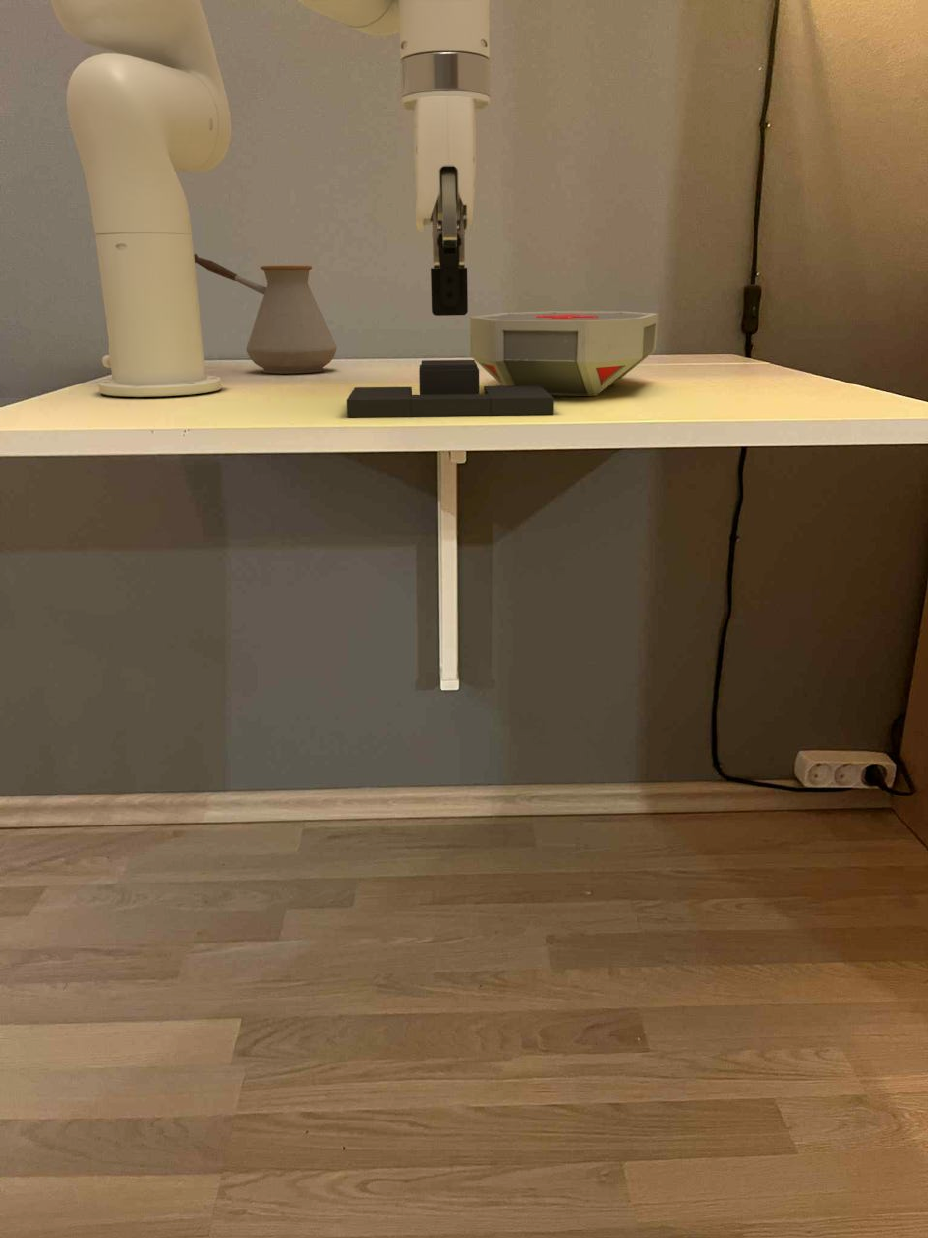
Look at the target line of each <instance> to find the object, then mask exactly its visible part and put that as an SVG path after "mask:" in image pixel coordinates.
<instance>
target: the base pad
mask: <svg viewBox="0 0 928 1238" xmlns="http://www.w3.org/2000/svg"><path fill="white" fill-rule="evenodd" d="M483 389H484V390H483V393H479V394H435V395H420V394H413V386H355V387H353V390H352V391H351V393H350V394H349V395H348V397H347V398H346V417H347V418H394V417H395V418H396V417H397V418H399V417H468V416H469V417H471V416H472V417H477V416H479V417H480V416H483V417H484V416H485V417H486V416H541V415H542V416H545V415H546V416H549V415H550V416H551V415H552V416H553V415H554V407H555V406H554V403H555V398H554V397H555V396H553V395H550V394H549V393H548V392H547V391H546V390H545V389H544V388H543V387H542V386H541V385H509V386H502V385H484V388H483Z"/></svg>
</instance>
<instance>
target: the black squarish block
mask: <svg viewBox="0 0 928 1238" xmlns="http://www.w3.org/2000/svg"><path fill="white" fill-rule="evenodd" d="M418 371H419V373H418V375H419V395H435V394H480V368H479V366H478V363H477V361H476V360H475V359H433V360H432V359H429V360H428V359H425V360H421V364H420V365H419V370H418Z"/></svg>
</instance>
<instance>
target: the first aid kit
mask: <svg viewBox="0 0 928 1238" xmlns="http://www.w3.org/2000/svg"><path fill="white" fill-rule="evenodd" d="M469 324H470V325H469V344H470V345H469V349H470V351H469V353H470V354H469V355H470V357H471V358H472V360H475V362H476V363H477V364H479V365H480V367H482V368H483V369H484V371H486V372H487V373H488V374H489V376H491V377H492V378H494V380H495V381H497V382H498V383H499V384H500V386H509V385H541V386H542V387H543V388H544V389H545V390H546V391H547V392H548V393H549V394H550V395H551V396H569V397H570V396H573V397H596V396H598V395H599V394H600V393H602V391H604V390H605V389H606V388H608V386H611V385H612V386H613V385H615V384H616V383H617V382H618V381H620V380H621V379H622V378H624V377H625V376H626V375H627V374H628V373H630V372H631V371H632V370H633V369H634V368H636V367H637V366H638V365H640V363H642V362H643V361H644V360H646V359H647V358H648V357H649V356H651V354H653V353H654V352H655V351H656V350H657V343H658V342H657V341H658V325H659V313H653V312H638V311H636V312H635V311H567V310H566V311H565V310H564V311H563V310H562V311H556V310H555V311H553V310H552V311H527V312H526V311H525V312H522V311H521V312H501V313H494V314H486V315H485V314H484V315H479V316H471V317H469Z"/></svg>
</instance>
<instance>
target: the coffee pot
mask: <svg viewBox="0 0 928 1238" xmlns="http://www.w3.org/2000/svg"><path fill="white" fill-rule="evenodd" d="M194 257H195V264H197V265H199V266H201V267H202V268H204V269H205V270H207V271H208V272H211V273H213V274H215V275H219V276H221V277H223V278H226V279H229V280H231V281H234V282H237V283H239V284H241V285H244V286H245V287H246V288H248V289H251V290H253V291H256V292H258V293H259V294H261V295H263V296H262V298H261V302H260V305H259V309H258V312H257V314H256V318H255V321H254V324H253V327H252V331H251V333H250V337H249V340H248V343H247V346H246V352H247V355H248V357H249V358H250V360H251V361H252V362H253V363H254V364H255V365H257V366H258V367H260V368H262V369H263V371H262V373H267V374H286V375H287V374H288V375H289V374H311V373H319V372H323V371H324V367H326V366H327V365H328V364H330V363H331V361H332V360H333V359H334V358H335V356H336V353H337V348H338V347H337V344H336V341H335V340H334V338H333V335H332V333H331V331H330V329H329V327H328V324H327V322H326V320H325V317H324V316H323V313H322V311H321V309H320V306H319V305H318V303H317V300H316V298H315V296H314V294H313V291H312V290H311V287H310V285H309V276H310V271H311V270H313V266H312V265H261V266H260V270H261V271H263V273H264V277H265V279H266V286H264V285H261V284H259V283H256V282H255V281H252V280H250V279H247V278H245V277H243V276H240V275H238V274H237V273H236V272H233V271H231V270H230V269H228V268H226V267H224V266H222V265H221V264H218V263H216V262H214V261H212V260H209V259H206V258H202V257H199V256H198V254H197V253H194Z"/></svg>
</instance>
